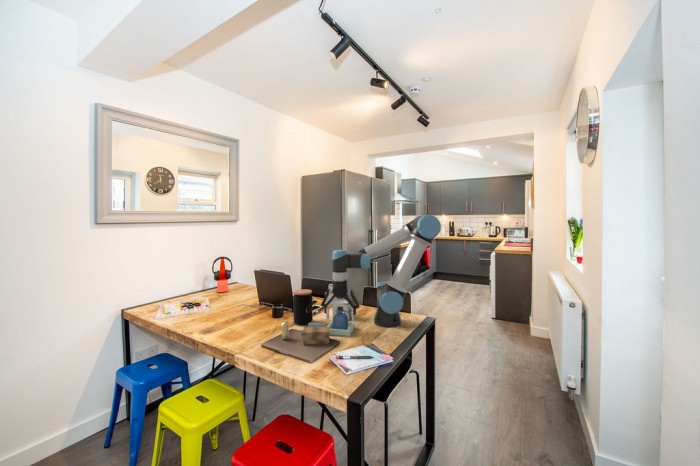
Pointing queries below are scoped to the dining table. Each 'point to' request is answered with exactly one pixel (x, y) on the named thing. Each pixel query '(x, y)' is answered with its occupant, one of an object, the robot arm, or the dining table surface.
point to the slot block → (314, 325)
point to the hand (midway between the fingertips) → (340, 320)
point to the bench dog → (285, 330)
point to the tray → (341, 332)
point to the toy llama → (339, 304)
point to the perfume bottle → (340, 320)
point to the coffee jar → (302, 307)
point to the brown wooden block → (316, 335)
